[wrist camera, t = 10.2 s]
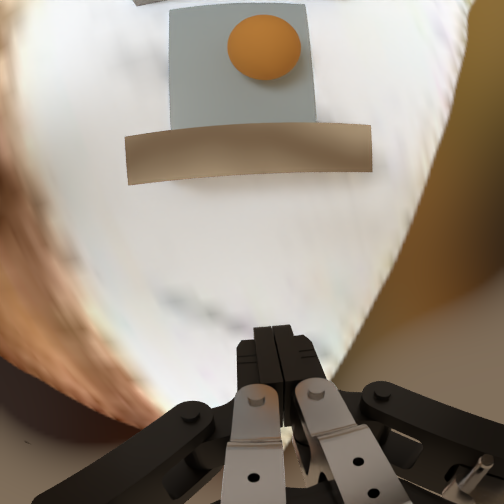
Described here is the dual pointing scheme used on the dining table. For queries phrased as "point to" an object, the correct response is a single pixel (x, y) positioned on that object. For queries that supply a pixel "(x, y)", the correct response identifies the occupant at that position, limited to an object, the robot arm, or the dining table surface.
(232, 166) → the tan arch
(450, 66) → the dining table surface
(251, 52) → the ball
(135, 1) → the wall
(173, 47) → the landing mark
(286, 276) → the dining table surface
